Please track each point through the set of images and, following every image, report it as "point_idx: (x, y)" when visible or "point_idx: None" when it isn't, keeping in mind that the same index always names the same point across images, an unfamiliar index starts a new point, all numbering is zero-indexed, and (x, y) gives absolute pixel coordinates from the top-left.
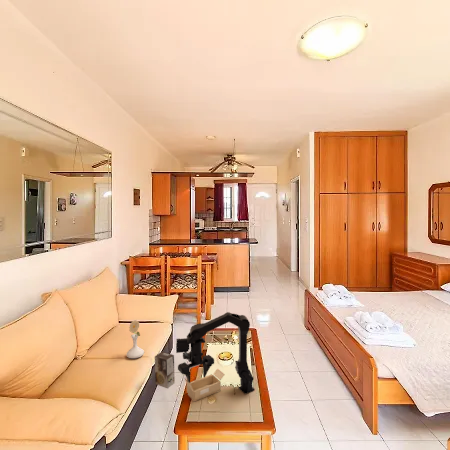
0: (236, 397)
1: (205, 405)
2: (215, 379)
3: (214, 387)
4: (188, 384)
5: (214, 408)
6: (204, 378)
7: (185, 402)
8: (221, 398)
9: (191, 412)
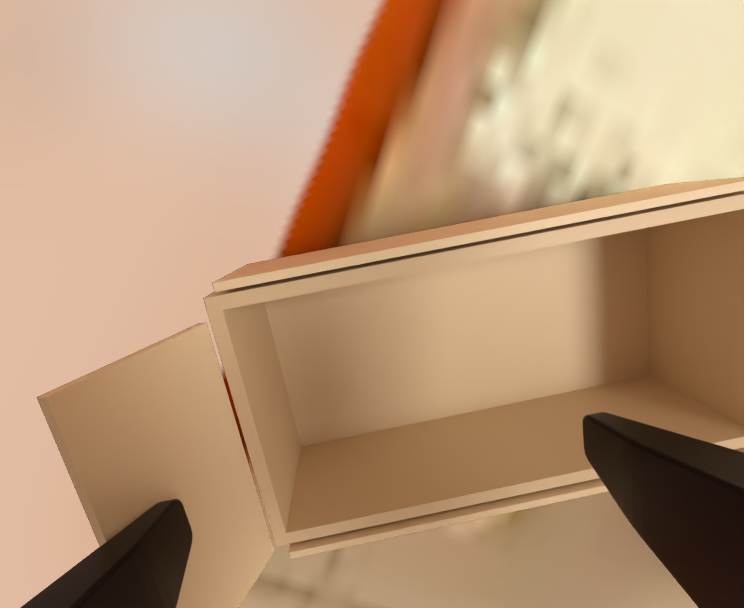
0: None
1: (393, 543)
2: (734, 304)
3: None
4: (199, 430)
5: (457, 604)
6: (588, 238)
7: None
8: (587, 500)
9: None
